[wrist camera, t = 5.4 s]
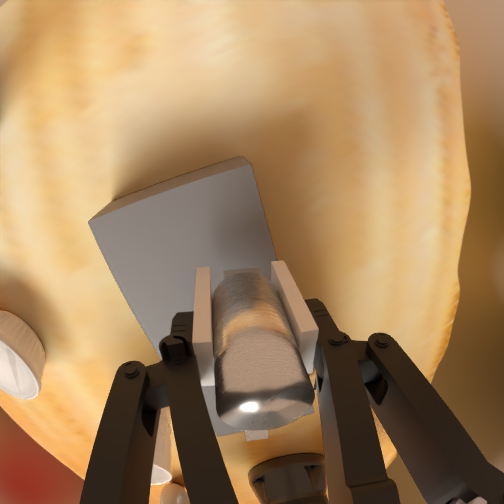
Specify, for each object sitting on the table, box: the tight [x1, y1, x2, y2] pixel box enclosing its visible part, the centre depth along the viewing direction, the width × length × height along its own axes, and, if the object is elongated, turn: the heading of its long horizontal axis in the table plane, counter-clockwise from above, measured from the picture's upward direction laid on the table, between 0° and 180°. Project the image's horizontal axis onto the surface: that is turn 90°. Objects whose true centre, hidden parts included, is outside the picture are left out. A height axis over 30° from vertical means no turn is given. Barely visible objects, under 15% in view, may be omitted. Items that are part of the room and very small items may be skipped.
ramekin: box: [0, 310, 45, 399], centre depth 23 cm, size 11×11×5 cm
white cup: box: [151, 406, 172, 484], centre depth 27 cm, size 8×8×10 cm
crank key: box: [212, 267, 315, 441], centre depth 17 cm, size 18×5×11 cm, turn 3°
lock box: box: [88, 156, 314, 436], centre depth 25 cm, size 26×11×5 cm, turn 15°
